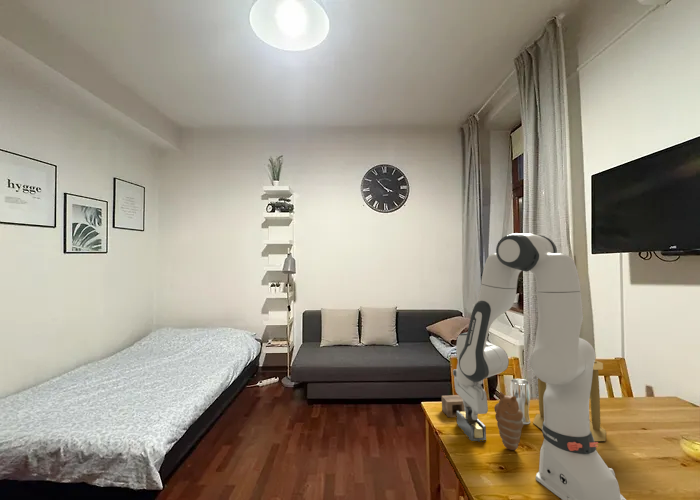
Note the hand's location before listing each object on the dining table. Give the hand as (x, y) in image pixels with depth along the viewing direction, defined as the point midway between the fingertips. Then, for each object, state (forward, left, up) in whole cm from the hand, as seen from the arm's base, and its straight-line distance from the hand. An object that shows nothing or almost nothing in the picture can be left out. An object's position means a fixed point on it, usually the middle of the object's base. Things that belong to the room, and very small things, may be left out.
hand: (470, 415), depth 124 cm
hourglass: (0, -37, -6) cm, 38 cm away
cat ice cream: (-12, -8, -6) cm, 16 cm away
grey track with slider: (+1, 0, -6) cm, 6 cm away
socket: (+16, 0, -6) cm, 17 cm away
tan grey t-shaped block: (+1, 0, -5) cm, 5 cm away
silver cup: (+7, -23, -6) cm, 25 cm away
